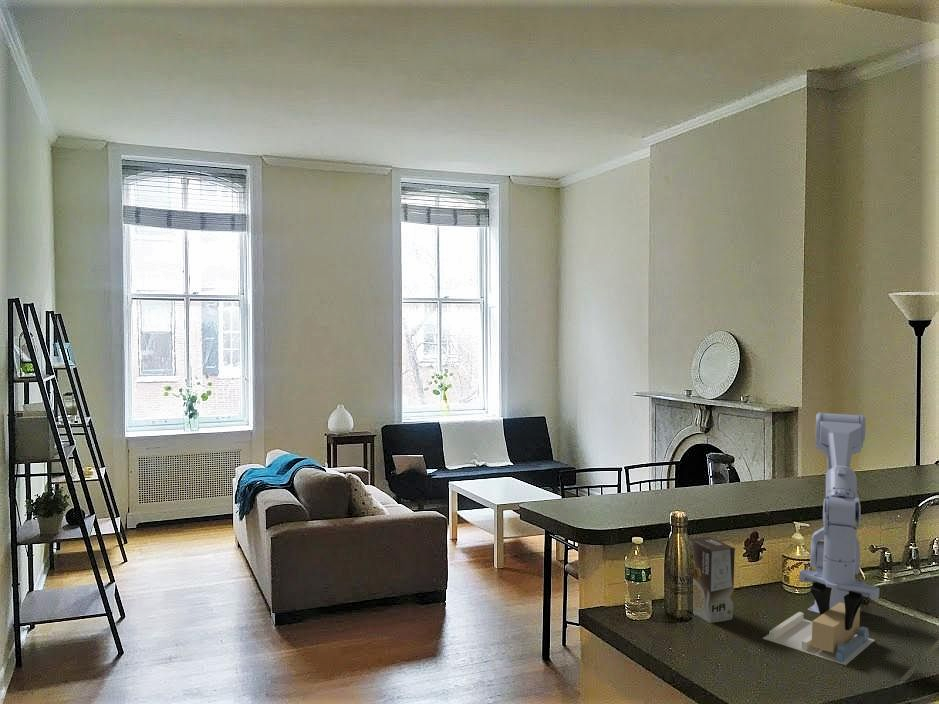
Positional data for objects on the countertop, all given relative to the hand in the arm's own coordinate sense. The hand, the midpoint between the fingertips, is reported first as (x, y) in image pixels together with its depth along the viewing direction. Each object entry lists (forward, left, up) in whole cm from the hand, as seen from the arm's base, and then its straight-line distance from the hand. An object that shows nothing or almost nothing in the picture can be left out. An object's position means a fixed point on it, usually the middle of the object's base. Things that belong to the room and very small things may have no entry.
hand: (836, 625), depth 155 cm
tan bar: (0, 0, -3) cm, 3 cm away
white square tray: (0, -3, -4) cm, 6 cm away
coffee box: (+4, -25, -5) cm, 26 cm away
